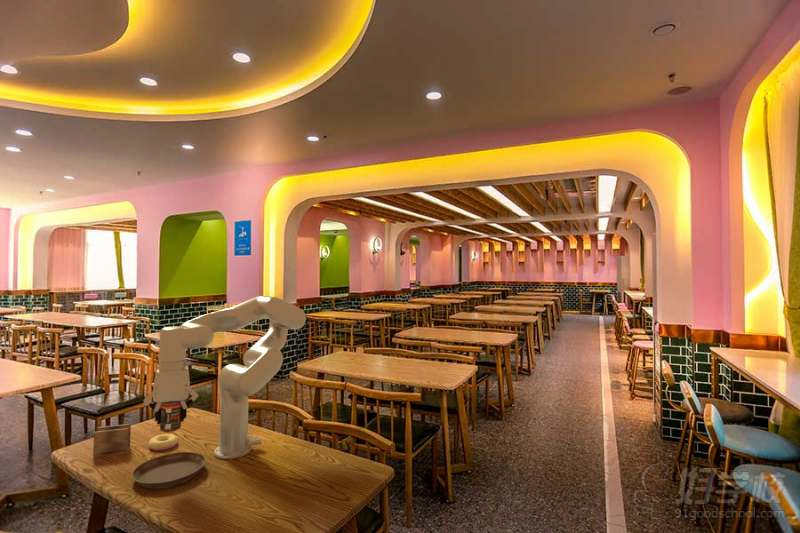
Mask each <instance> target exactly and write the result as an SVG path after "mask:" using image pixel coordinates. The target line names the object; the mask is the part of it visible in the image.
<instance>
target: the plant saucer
mask: <svg viewBox="0 0 800 533" xmlns="http://www.w3.org/2000/svg"><path fill="white" fill-rule="evenodd" d="M205 464H206V457H205V456H204V455H203V454H201V453H197V452H192V451H191V452H190V451H183V452H181V451H180V452H172V453H168V454H162V455H159V456H156V457H154V458H151V459H148V460H146V461H144V462H143V463H140V464H139V465H138V466H136V467H135V468H134V469H133V471H132V472H131V478H132V479H133V481H135V483H137V484H138V485H140V487H141V486H142V487H143V488H146V489H155V490H156V489H166V488H172V487H175V486H178V485H181V484H183V483H186V482H188V481H190V480H191V479H193V478H195V476H196V475H197V474H198V473H200V471H201V470H202V469H203V467H204V466H205Z"/></svg>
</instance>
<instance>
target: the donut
mask: <svg viewBox="0 0 800 533" xmlns="http://www.w3.org/2000/svg"><path fill="white" fill-rule="evenodd" d="M178 441H179V438H178V436H177V435H175V434H173V433H161V434H158V435H156V436H153V437H152V438H151V439H150V440H149V441H148V447H149V449H151V450H152V451H156V452H159V451H166V450H169V449H172V448H174V447H175V446H176V445H177V444H178Z"/></svg>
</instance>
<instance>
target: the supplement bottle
mask: <svg viewBox="0 0 800 533" xmlns="http://www.w3.org/2000/svg"><path fill="white" fill-rule="evenodd" d="M160 409H161V416H160V424H159V429H160V432H163V433H171V432H176V431H178V430H179V429H181V427H182V421H181V409H182V405H181V402H180V401H170V402H165V403H162V404H161V406H160Z"/></svg>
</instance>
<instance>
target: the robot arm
mask: <svg viewBox="0 0 800 533" xmlns="http://www.w3.org/2000/svg"><path fill="white" fill-rule="evenodd" d="M262 319H268V320H269V325H268V326H269V327H268V330H267V332H265V334H264V335H263V336H262V337H261V338H260V339H259V340H258V341H257V342H255V344H253V345H252V346H251V347H250V348H249V349H247V351H246V352H245V354H244V356H243V363H244V364H245V365H242V364H239V363H230V364H226V365H225V366H224V367H223V368H222V369H221V370H220V371H219V374H218V377H217V384H218V391H219V400H220V403H219V436H218V437H219V440H218V441H219V442H218V443H219V444H218V446H217V447H216V448H214V456H215V457H216V458H218V459H220V460H221V459H222V460H234V459H238V458H242V457H244V456H246V455H248V454H250V453H251V451H252V450H251V449H253V448H252V446H254V445H255V446H257V445H261V442H262V441H261V438H257V436H256V437H249V434H248V432H249V426H248V425H249V397H250V396H252V395H255V394H256V393H258V392H259V391H260V390H262V388H264V387H265V386H266V385H267V384H268V382H270V381H271V379H273V377H274V376H275V375H277V373H278V372H279V371H280V370H281V367H282V365H283V361H284V356H283V353H282V351H281V350H282V349H283V348H284V346H285V345H286V343H287V339H288V330H295V331H296V330H299V329H302V328H303V327H304V325H305V323H306V320H307V314H306V313H305V311H304V310H303V309H302V308H300V307H298V306H296V305H294V304H292V303H289V302H288V301H286V300H284V299H281V298H279V297H277V296H268V295H259V296H255V297H253V298H251V299H248V300H246V301H243V302H241V303H237V304H236V305H234V306H233V305H232V306H231V307H229V308H225V309H220V310H217V311H213V312H210V313H206V314H203V315H200V316H198V317H197V316H196V317H195V318H192V319H191V320H187V321H186V322H184V323H182V324H181V325H180V326H179V325H178V326H177V325H174V326H165V327H162V328H161V329H160V331H159V347H158V349H159V351H158V352H159V354H158V359H159V360H158V369H156V371H155V375H154V380H153V388H152V391H151V392H150V393H149V394H148V395H147V396H146V397H145V398H144V399H143V403H144V404H146V406H148V407H149V408H150V409H152V410H153V412H154V421H155V422H156V424H157V426H158V425H160V416H161V404H162V403H165V402H170V401H180V402H181V405H182V409H181V423H182V422H184V420H185V419H187V416H188V414H187V412H188V410H187V408H189V406H191V404H192V403H194V401H196V400H197V399H198V397H199V394H198V393H197V392H196V391H195V390H194V389H193V388H191V385H190V384H191V383H190V380H191V379H190V371H189V368H188V367H187V366H191V363H192V362H191V360H187V349H201V348H205V347H208V346H209V345H211V344H212V342H213V340H214V338H215V333H220V332H231V331H237V330H240V329H243V328H245V327H247V326H249V325H252V324H253V323H256V322H258V321H260V320H262ZM189 396H191V397H190V398H189ZM151 399H152V400H151Z"/></svg>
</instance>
